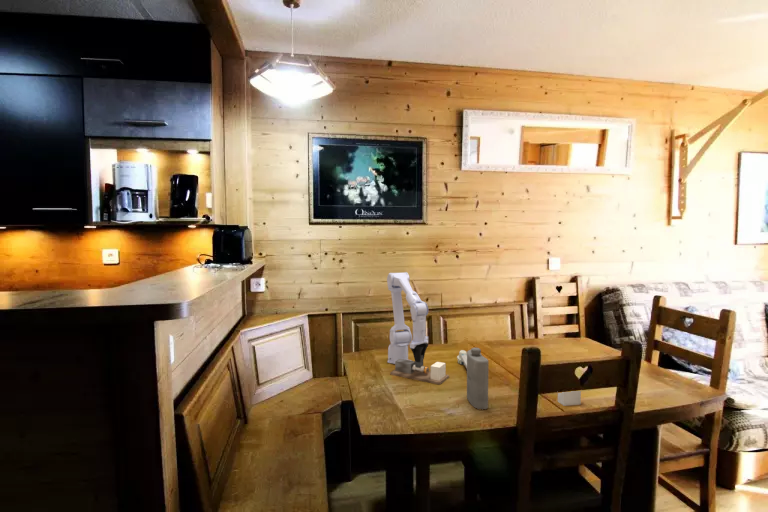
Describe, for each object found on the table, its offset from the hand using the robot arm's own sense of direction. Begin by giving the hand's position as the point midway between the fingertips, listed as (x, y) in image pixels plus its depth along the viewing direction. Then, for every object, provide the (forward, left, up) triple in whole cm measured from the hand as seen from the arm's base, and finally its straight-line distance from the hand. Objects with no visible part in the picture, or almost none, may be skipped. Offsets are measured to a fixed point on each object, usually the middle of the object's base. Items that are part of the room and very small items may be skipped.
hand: (419, 360), depth 173 cm
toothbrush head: (+16, +19, -7) cm, 26 cm away
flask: (+30, -13, -7) cm, 33 cm away
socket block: (+9, 0, -7) cm, 11 cm away
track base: (0, 0, -7) cm, 7 cm away
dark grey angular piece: (-3, 0, -5) cm, 6 cm away
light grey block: (+60, +3, -7) cm, 61 cm away
